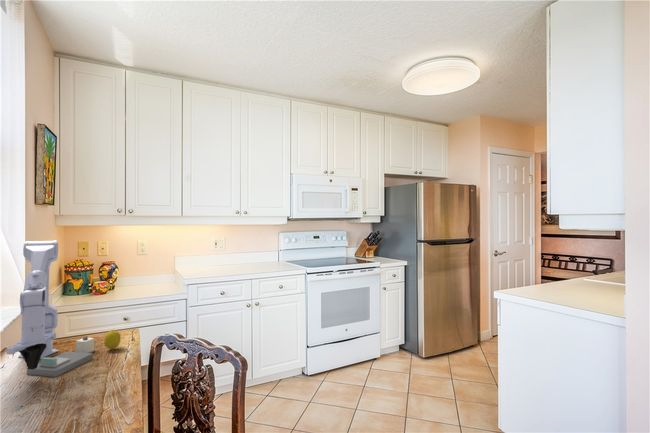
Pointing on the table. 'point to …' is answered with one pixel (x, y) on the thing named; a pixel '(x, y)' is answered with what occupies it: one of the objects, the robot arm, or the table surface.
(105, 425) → the table surface
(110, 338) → the lemon
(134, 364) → the table surface
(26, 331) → the robot arm
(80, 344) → the plug
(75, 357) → the socket plate
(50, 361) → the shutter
